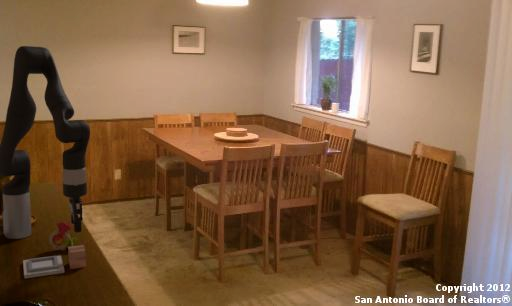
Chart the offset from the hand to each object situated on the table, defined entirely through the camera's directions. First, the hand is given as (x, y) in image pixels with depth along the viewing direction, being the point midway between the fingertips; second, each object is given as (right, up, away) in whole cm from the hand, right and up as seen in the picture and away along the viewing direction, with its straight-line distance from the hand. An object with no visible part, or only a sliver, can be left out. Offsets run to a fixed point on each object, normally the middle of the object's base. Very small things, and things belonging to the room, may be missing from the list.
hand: (76, 227), depth 171 cm
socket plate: (-11, -13, -1) cm, 17 cm away
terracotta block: (-1, -13, +3) cm, 14 cm away
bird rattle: (-10, -10, +15) cm, 21 cm away
